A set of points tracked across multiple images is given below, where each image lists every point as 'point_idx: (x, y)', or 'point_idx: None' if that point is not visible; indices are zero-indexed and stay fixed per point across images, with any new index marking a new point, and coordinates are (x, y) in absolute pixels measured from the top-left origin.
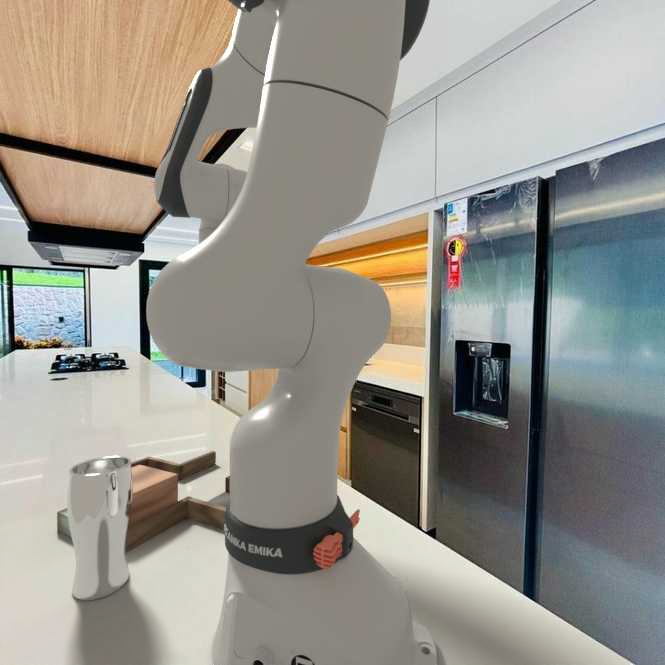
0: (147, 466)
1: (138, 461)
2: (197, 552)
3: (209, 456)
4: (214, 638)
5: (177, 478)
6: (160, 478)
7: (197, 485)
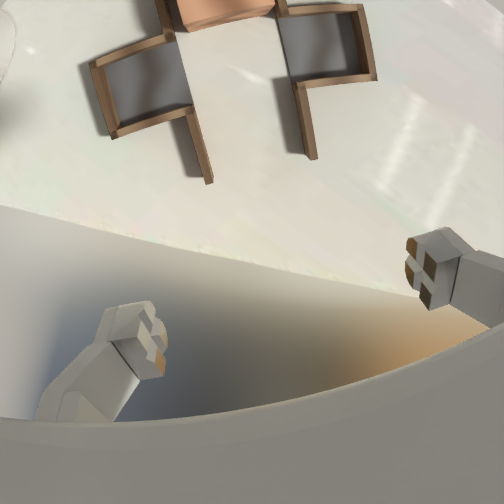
0: (364, 72)
1: (368, 58)
2: (93, 22)
3: (307, 145)
4: (2, 11)
5: (184, 25)
6: (188, 1)
7: (251, 89)
